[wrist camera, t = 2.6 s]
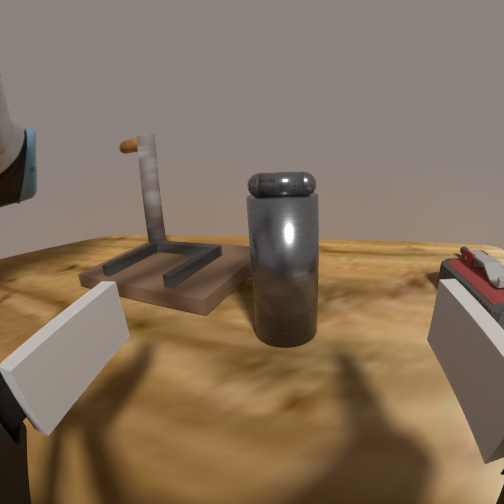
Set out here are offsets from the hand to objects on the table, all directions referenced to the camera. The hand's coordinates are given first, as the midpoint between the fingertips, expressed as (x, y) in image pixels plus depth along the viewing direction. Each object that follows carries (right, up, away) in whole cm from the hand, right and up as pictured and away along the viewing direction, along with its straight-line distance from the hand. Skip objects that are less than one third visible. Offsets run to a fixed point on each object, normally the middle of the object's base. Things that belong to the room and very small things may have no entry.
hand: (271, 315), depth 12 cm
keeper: (-10, 0, +24) cm, 26 cm away
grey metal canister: (+2, -3, +11) cm, 12 cm away
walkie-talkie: (+22, -2, +14) cm, 26 cm away
